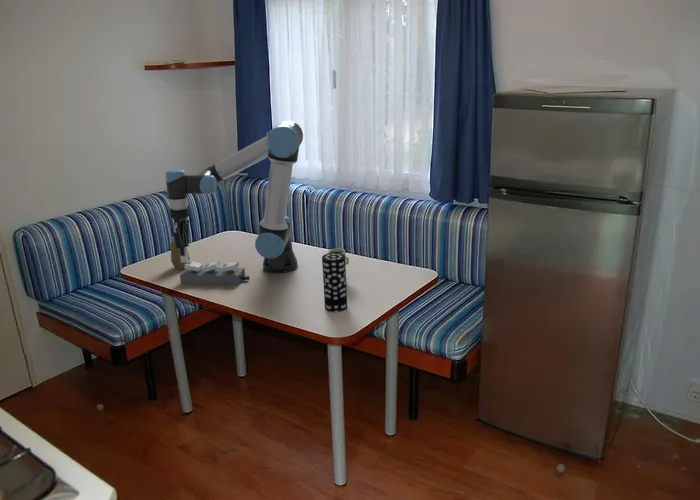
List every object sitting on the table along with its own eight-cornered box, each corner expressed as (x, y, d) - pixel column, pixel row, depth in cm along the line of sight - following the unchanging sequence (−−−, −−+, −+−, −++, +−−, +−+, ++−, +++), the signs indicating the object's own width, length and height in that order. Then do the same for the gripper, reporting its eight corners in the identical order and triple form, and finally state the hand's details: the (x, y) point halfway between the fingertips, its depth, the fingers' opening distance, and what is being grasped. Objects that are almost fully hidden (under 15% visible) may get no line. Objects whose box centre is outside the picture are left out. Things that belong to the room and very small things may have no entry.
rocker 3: (239, 265, 245) (237, 261, 244) (235, 269, 240) (234, 265, 240) (226, 267, 246) (224, 263, 245) (222, 271, 242) (221, 267, 241)
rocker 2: (220, 264, 246) (219, 260, 245) (217, 268, 241) (215, 264, 241) (208, 268, 247) (206, 264, 247) (204, 272, 243) (202, 268, 242)
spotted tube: (347, 302, 220) (344, 252, 214) (347, 311, 212) (345, 260, 206) (325, 303, 220) (322, 253, 213) (324, 312, 212) (321, 261, 206)
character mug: (353, 280, 240) (352, 250, 236) (345, 286, 234) (343, 255, 230) (331, 276, 245) (329, 246, 241) (322, 281, 240) (320, 252, 235)
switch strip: (252, 276, 248) (251, 265, 246) (245, 284, 240) (244, 273, 238) (189, 275, 252) (187, 264, 250) (181, 283, 244) (179, 272, 242)
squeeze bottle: (185, 271, 257) (180, 232, 251) (169, 270, 259) (163, 231, 253) (193, 264, 265) (188, 226, 259) (177, 264, 266) (172, 226, 260)
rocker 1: (202, 267, 247) (202, 263, 247) (198, 271, 243) (198, 267, 242) (188, 264, 248) (188, 260, 247) (184, 268, 243) (184, 264, 243)
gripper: (176, 203, 243) (182, 256, 251) (163, 211, 231) (169, 267, 239) (193, 203, 243) (198, 256, 251) (181, 212, 230) (187, 268, 238)
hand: (184, 261), depth 245 cm, fingers closed
